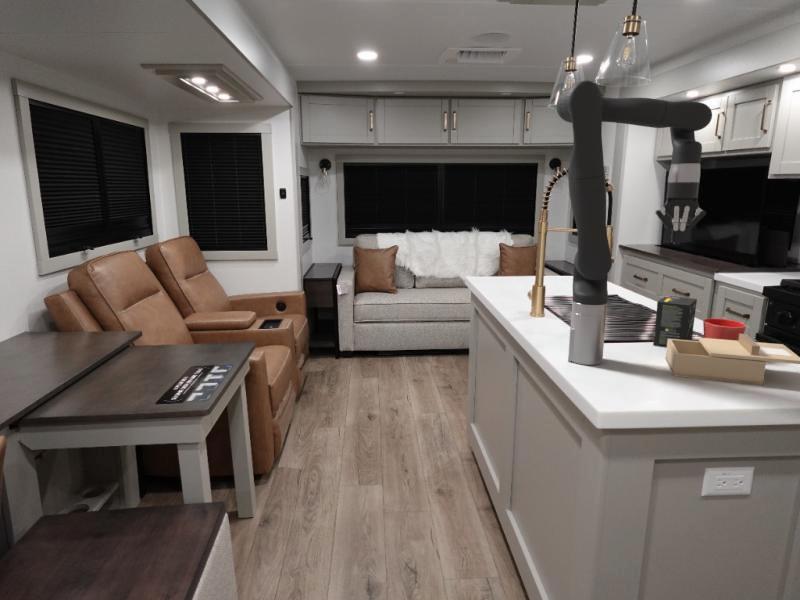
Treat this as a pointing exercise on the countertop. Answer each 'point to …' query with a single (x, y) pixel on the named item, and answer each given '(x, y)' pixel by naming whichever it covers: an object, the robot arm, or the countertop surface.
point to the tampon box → (674, 319)
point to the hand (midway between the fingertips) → (676, 244)
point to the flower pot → (723, 329)
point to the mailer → (711, 364)
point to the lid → (749, 350)
